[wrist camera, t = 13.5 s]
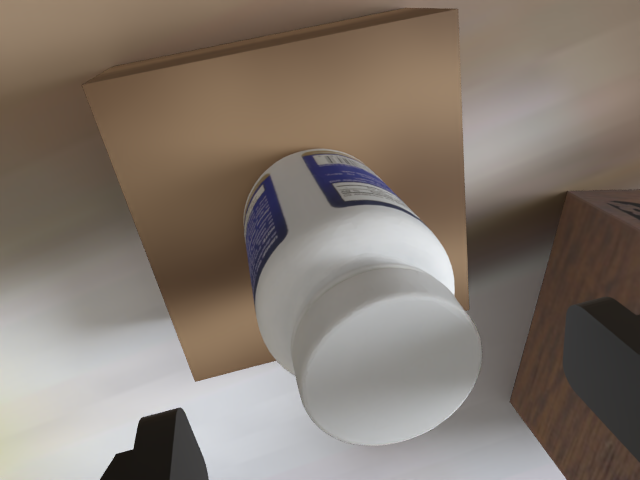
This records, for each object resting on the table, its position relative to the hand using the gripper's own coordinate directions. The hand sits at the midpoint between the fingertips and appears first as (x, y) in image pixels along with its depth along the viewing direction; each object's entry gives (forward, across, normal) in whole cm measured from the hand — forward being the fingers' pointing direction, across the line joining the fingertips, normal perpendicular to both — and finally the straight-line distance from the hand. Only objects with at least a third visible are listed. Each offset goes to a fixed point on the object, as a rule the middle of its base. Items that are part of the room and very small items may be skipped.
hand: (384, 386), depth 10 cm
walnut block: (+14, 0, 0) cm, 14 cm away
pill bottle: (+9, 0, 0) cm, 9 cm away
